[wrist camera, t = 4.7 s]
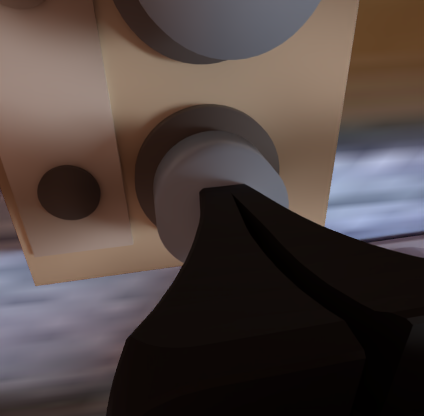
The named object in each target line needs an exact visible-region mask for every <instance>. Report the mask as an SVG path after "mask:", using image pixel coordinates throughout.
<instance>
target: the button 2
mask: <svg viewBox="0 0 424 416" xmlns="http://www.w3.org/2000/svg"><path fill="white" fill-rule="evenodd" d="M237 184H246V185H248V186H250V187H251V188H253V189H255V190H257V191H258V192H260V193H262V194H263V195H265V196H267V197H268V198H270V199H272V200H273V201H275V202H277V203H279V204H280V205H282V206H284V207H286V208H287V209H289V200H288V193H287V190H286V187H285V185H284V183H283V180H282V179H281V177H280V176H279V174H278V173H277V172H276V171H275V170H274V168H273V167H272V166H271V165H270V164H269V162H268V161H267V160H266V159H265V158H264V156H263V155H262V154H261V153H260V152H259V151H258V149H257V148H256V147H255V146H254V145H253V144H252V143H250V142H249V141H248V140H246V139H245V138H243V137H241V136H239V135H237V134H234V133H230V132H226V131H205V132H200V133H197V134H194V135H191V136H189V137H187V138H185V139H183V140H181V141H180V142H178V143H177V144H176V145H174V146H173V147H172V148H171V149H170V150H169V151H168V152H167V153H166V155H165V156H164V157H163V158H162V160H161V162H160V164H159V165H158V168H157V170H156V173H155V177H154V183H153V194H154V205H155V215H156V225H157V230H158V234H159V236H160V239H161V241H162V243H163V245H164V246H165V248H166V249H167V250H168V251H169V252H170V253H171V254H172V255H173V256H174V257H175V258H176V259H178V260H179V261H181V262H183V263H184V262H185V260H186V258H187V256H188V253H189V251H190V249H191V246H192V244H193V241H194V238H195V235H196V231H197V228H198V225H199V220H200V200H199V192H200V191H201V190H202V189H203V188H210V187H219V186H228V185H237Z"/></svg>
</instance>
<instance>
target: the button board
mask: <svg viewBox="0 0 424 416" xmlns="http://www.w3.org/2000/svg"><path fill="white" fill-rule="evenodd" d="M358 5H359V0H321V1H320V3H319V4H318V6H317V7H316V9H315V11H314V12H313V14H312V15H311V16H310V17H309V19H308V20H307V21H306V22H305V24H304V25H303V26H302V27H301V28H300V29H299V30H298V31H297V32H296V33H295V34H294V35H293V36H291V37H290V38H289V39H288V40H286V41H285V42H284V43H282V44H281V45H279V46H277V47H276V48H274V49H272V50H270V51H268V52H266V53H263V54H261V55H258V56H254V57H251V58H247V59H239V60H221V59H215V58H209V57H206V56H203V55H200V54H197V53H195V52H193V51H191V50H189V49H186V48H185V47H183V46H182V45H180V44H179V43H177V42H176V41H174V40H173V39H172V38H171V37H169V36H168V35H167V34H166V33H165V32H164V31H163V30H162V29H161V28H160V27H159V26H158V25H157V24H156V23H155V22H154V21H153V20H152V19H151V18H150V17H149V15H148V14H147V12H146V11H145V10H144V8H143V7H142V5H141V4H140V2H139V0H0V188H1V191H2V194H3V197H4V199H5V202H6V205H7V208H8V211H9V213H10V216H11V219H12V222H13V224H14V227H15V230H16V233H17V236H18V238H19V241H20V244H21V247H22V249H23V252H24V255H25V258H26V261H27V263H28V266H29V269H30V272H31V275H32V277H33V280H34V283H35V286H39V285H47V284H54V283H61V282H68V281H75V280H83V279H90V278H97V277H104V276H111V275H119V274H126V273H133V272H140V271H147V270H155V269H162V268H169V267H176V266H183V264H184V263H183V262H181V261H179V260H178V259H176V258H175V257H174V256H173V255H172V254H171V253H170V252H169V251H168V250H167V249H166V248H165V246H164V245H163V243H162V241H161V239H160V236H159V234H158V230H157V225H156V215H155V205H154V194H153V183H154V177H155V173H156V170H157V168H158V165H159V164H160V162H161V160H162V158H163V157H164V156H165V155H166V153H167V152H168V151H169V150H170V149H171V148H172V147H173V146H174V145H176V144H177V143H178V142H180V141H181V140H183V139H185V138H187V137H189V136H191V135H194V134H197V133H200V132H205V131H226V132H230V133H234V134H237V135H239V136H241V137H243V138H245V139H246V140H248V141H249V142H250V143H252V144H253V145H254V146H255V147H256V148H257V149H258V151H259V152H260V153H261V154H262V155H263V156H264V158H265V159H266V160H267V161H268V162H269V164H270V165H271V166H272V167H273V168H274V170H275V171H276V172H277V173H278V174H279V176H280V177H281V179H282V180H283V183H284V185H285V187H286V190H287V193H288V200H289V210H291V211H293V212H295V213H297V214H298V215H300V216H302V217H305V218H307V219H309V220H311V221H313V222H315V223H317V224H319V225H321V226H324V225H325V219H326V212H327V206H328V199H329V193H330V186H331V180H332V173H333V167H334V160H335V154H336V148H337V141H338V135H339V128H340V122H341V115H342V109H343V102H344V96H345V89H346V83H347V76H348V70H349V64H350V57H351V51H352V44H353V38H354V31H355V25H356V18H357V12H358Z"/></svg>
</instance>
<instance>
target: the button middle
mask: <svg viewBox="0 0 424 416" xmlns="http://www.w3.org/2000/svg"><path fill="white" fill-rule="evenodd" d="M320 1H321V0H139V2H140V4H141V5H142V7H143V8H144V10H145V11H146V12H147V14H148V15H149V17H150V18H151V19H152V20H153V21H154V22H155V23H156V24H157V25H158V26H159V27H160V28H161V29H162V30H163V31H164V32H165V33H166V34H167V35H168V36H169V37H171V38H172V39H173V40H174V41H176V42H177V43H179V44H180V45H182V46H183V47H185V48H186V49H189V50H191V51H193V52H195V53H197V54H200V55H203V56H206V57H209V58H215V59H221V60H239V59H247V58H251V57H254V56H258V55H261V54H263V53H266V52H268V51H270V50H272V49H274V48H276V47H277V46H279V45H281V44H282V43H284V42H285V41H286V40H288V39H289V38H290V37H291V36H293V35H294V34H295V33H296V32H297V31H298V30H299V29H300V28H301V27H302V26H303V25H304V24H305V22H306V21H307V20H308V19H309V17H310V16H311V15H312V14H313V12H314V11H315V9H316V7H317V6H318V4H319V3H320Z"/></svg>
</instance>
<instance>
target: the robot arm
mask: <svg viewBox="0 0 424 416" xmlns="http://www.w3.org/2000/svg"><path fill="white" fill-rule="evenodd" d="M199 200H200V220H199V225H198V228H197V231H196V235H195V238H194V241H193V244H192V246H191V249H190V251H189V253H188V256H187V258H186V260H185V262H184V264H183V266H182V268H181V269H180V271H179V273H178V275H177V277H176V278H175V280H174V282H173V283H172V285H171V286H170V288H169V289H168V290H167V292H166V293H165V294H164V296H163V297H162V299H161V300H160V301H159V303H158V304H157V306H156V307H155V308H154V309H153V311H152V312H151V313H150V314H149V315H148V316H147V317H146V318H145V320H144V321H143V322H142V323H141V324H140V325H139V326H138V327H137V328H136V329H135V330H134V332H133V333H132V334H131V335H130V336H129V337H128V338H127V339H126V342H125V345H124V348H123V351H122V354H121V357H120V360H119V363H118V366H117V369H116V373H115V376H114V379H113V383H112V387H111V392H110V396H109V402H108V407H107V413H106V416H424V235H419V236H412V237H405V238H397V239H390V240H383V241H376V242H369V243H366V242H363V241H360V240H357V239H354V238H351V237H349V236H346V235H343V234H341V233H338V232H336V231H333V230H331V229H328V228H326V227H324V226H321V225H319V224H317V223H315V222H313V221H311V220H309V219H307V218H305V217H302V216H300V215H298V214H297V213H295V212H293V211H291V210H289V209H287V208H286V207H284V206H282V205H280V204H279V203H277V202H275V201H273V200H272V199H270V198H268V197H267V196H265V195H263V194H262V193H260V192H258V191H257V190H255V189H253V188H251V187H250V186H248V185H246V184H237V185H228V186H219V187H210V188H203V189H202V190H201V191H200V192H199Z"/></svg>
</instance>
